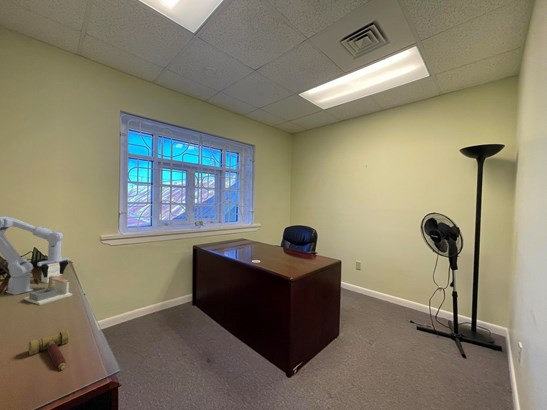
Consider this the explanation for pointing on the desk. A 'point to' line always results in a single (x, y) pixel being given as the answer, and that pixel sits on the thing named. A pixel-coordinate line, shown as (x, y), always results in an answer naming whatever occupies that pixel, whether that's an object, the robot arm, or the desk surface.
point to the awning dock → (50, 292)
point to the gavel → (51, 347)
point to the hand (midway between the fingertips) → (53, 275)
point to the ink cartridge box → (52, 272)
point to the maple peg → (51, 282)
